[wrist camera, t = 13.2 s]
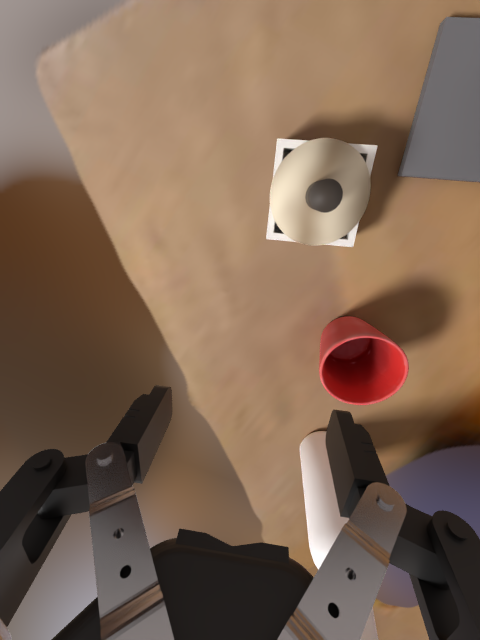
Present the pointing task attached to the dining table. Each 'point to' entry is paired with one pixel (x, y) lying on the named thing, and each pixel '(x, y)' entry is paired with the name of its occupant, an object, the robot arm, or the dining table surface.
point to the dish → (281, 152)
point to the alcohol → (323, 507)
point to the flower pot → (360, 362)
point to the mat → (448, 108)
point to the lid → (320, 191)
